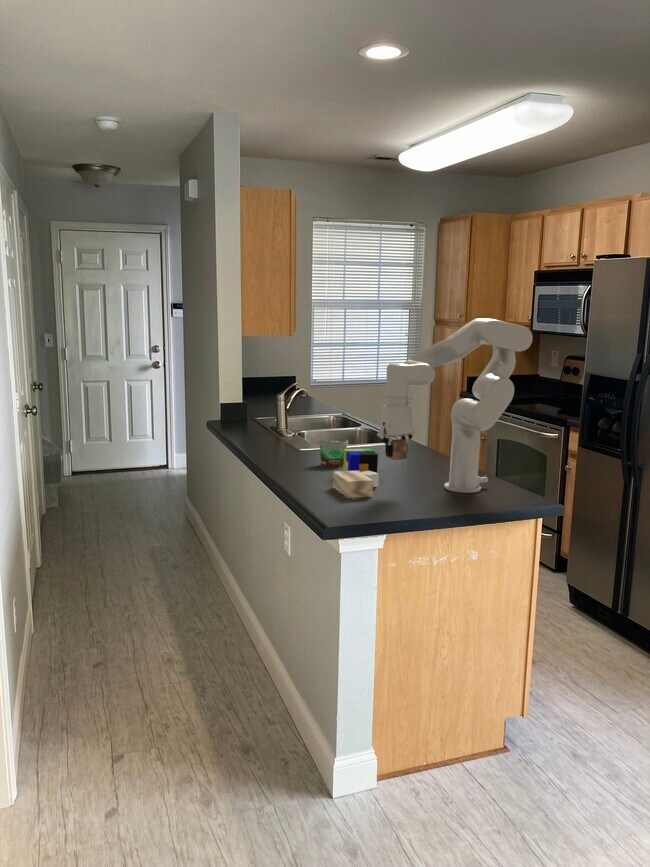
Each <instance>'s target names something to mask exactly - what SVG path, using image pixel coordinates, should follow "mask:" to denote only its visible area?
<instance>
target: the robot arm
mask: <svg viewBox="0 0 650 867" xmlns="http://www.w3.org/2000/svg"><path fill="white" fill-rule="evenodd" d="M533 340H534V339H533V333H532V331H531V330H530V329H529V327H526V326H524V325H520V324H516V323H511V322H507V321H503V320H498V319H495V318H481V317H479V318H474V319H473V320H471V321H469V322H468V323H466V324H465V325H463V326H462V327H461V328H459V329H458V330H456V331H455V332H454V333H452V334H451V335H449V336H447V337H446V338H444V339H443V340H440V341H439V342H436V343H434V344H432V345H429V346H428V347H426V348H423V349H422V350H420V351H417V352H416V353H414V354H413V355H412V356H410V357H409V358H408V359H407V360H405V362H403V363H402V362H395V363H394V362H392V363H389V364H387V366H386V387H385V388H386V390H385V392H386V396H385V404H384V405H383V407H382V411H381V418H380V429H379V431H378V432H377V434H376V436H377V437H378V438H379V440H381V441H382V442H383V444H385V445H384V446H385V449H384V450H385V451H384V452H385V457H386V456H389V457H392V453H393V446H392V445H391V443H392V439H394V437H399V436H400V439H403V440H406V441H407V452H408V451H409V450H408V449H409V448H408V447H409V443H410V441H411V440H412V438H413V437H414V436H415V435H416V434H417V430H416V429H415V428H414V426H413V411H412V407H411V405H410V401H411V402H412V400H413V397H412V396H410V386H421V387H425V386H428V385H430V384H432V383H433V381H434V380H435V378H436V371H435V367H439V366H441V365H446V364H447V365H448V364H453V363H456V362H459V361H461V360H463V358H465V357H466V356H468V355H469V354H470V353H472V352H474V350H476V349H478V348H479V347H480V346H482V345H486V346H492V356H491V359H490V360H489V362H488V364H487V365H486V367H484V369H483V371H482V372H481V373H480V375H479V376H478V377H477V379H476V380H475V381H474V383H473V385H472V389H471V392H472V395H473V396H474V397H475V398H476V399H472V398H468V397H467V398H460V399H458V400H457V401H455V402H454V404H453V405H452V408H451V412H450V416H451V418H450V419H451V420H450V421H451V431H452V433H451V434H452V435H451V448H450V462H449V464H450V465H449V478H448V481H447V482H444V486H443V487H444V489H446V490H448V491H450V492H454V493H459V494H460V493H461V494H462V493H463V494H473V493H479V492H481V490H482V486H481V485H480V484H481V483H483V484H484V483H488V481H489V479H488V476H482V477H481V476H479V475H478V473H479V460H480V459H479V458H480V446H481V433H480V432H485V431H488V430H489V429H491V428H492V427H493V426H494V425H495V424H496V423H497V422H498V420H499V419H500V417H501V416H502V414H503V413H504V412H505V411H506V409H507V407H508V406H509V405H510V404H511V402H512V400H513V397H514V394H515V385H514V383H513V381H512V380H511V379H510V377H511V375H512V374H513V372H514V371H515V368H516V363H517V362H516V360H517V358H516V352H524V351H527V350H528V349H529V348H530V346H531V345H532V343H533ZM477 399H478V400H477Z"/></svg>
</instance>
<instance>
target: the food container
mask: <svg viewBox="0 0 650 867" xmlns="http://www.w3.org/2000/svg"><path fill="white" fill-rule="evenodd" d="M318 446H319V452H320V453H319V454H320V465H321V466H323V465H324V466H323V467H327V466H328V467H329V468H338V467H337V466H341V467H344V466H343V465H344V449H348V448H347V447H348V446H349V440H348V438H345V440H328V441H326V440H321V439H319V441H318ZM328 467H327V468H328Z"/></svg>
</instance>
